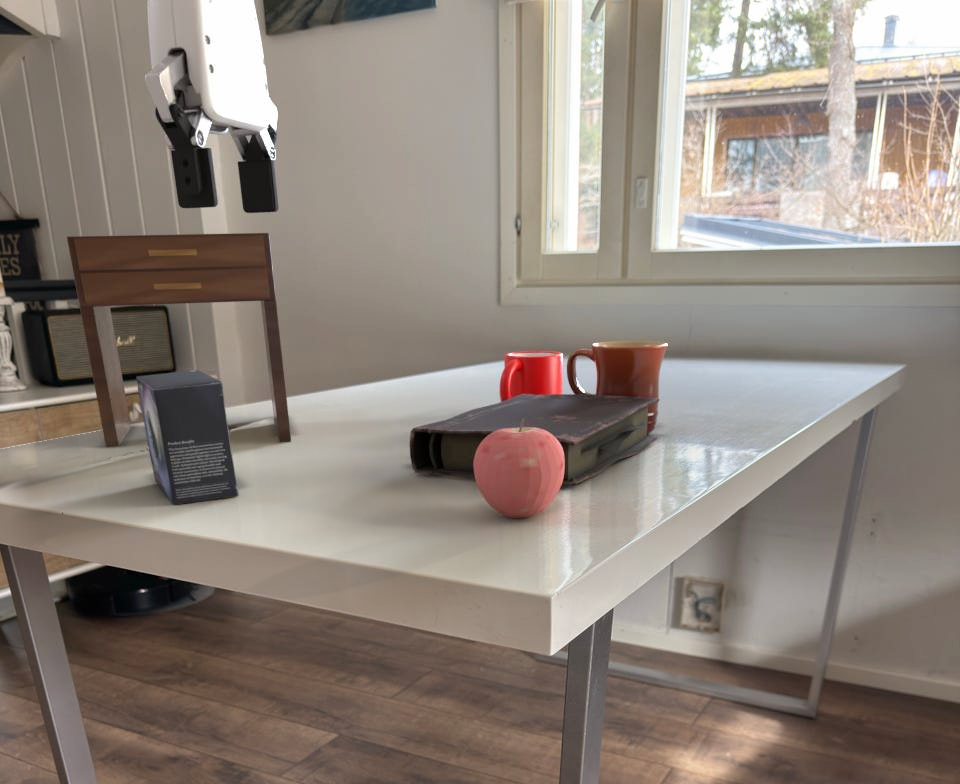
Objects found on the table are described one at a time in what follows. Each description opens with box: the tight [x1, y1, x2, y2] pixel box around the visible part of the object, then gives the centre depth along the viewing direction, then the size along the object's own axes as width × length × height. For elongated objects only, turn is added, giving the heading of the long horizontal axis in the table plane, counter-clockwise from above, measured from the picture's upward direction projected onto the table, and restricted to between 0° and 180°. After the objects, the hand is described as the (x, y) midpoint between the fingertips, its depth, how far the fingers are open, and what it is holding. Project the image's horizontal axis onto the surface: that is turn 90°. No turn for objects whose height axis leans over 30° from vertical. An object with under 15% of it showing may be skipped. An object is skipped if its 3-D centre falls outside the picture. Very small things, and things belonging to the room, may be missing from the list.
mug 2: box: [566, 340, 669, 435], centre depth 106 cm, size 12×9×10 cm
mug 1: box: [499, 350, 564, 402], centre depth 120 cm, size 8×12×8 cm, turn 149°
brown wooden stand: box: [66, 232, 292, 448], centre depth 107 cm, size 14×21×23 cm
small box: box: [135, 369, 240, 506], centre depth 84 cm, size 11×6×10 cm, turn 27°
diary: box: [409, 393, 660, 486], centre depth 94 cm, size 19×25×5 cm
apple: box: [473, 419, 565, 519], centre depth 73 cm, size 7×7×8 cm
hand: (231, 209), depth 74 cm, fingers open, 9 cm apart
